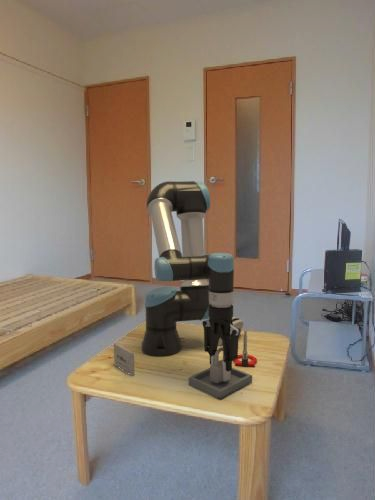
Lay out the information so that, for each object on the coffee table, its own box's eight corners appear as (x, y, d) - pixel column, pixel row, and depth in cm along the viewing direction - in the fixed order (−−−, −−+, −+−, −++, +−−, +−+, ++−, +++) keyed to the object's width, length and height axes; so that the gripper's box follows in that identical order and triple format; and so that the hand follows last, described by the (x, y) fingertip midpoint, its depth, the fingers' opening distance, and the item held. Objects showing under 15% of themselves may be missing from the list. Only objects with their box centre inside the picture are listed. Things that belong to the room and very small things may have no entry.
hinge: (230, 331, 171) (237, 311, 168) (239, 337, 169) (246, 317, 165) (208, 343, 158) (215, 321, 154) (218, 349, 155) (225, 328, 152)
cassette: (113, 364, 138) (112, 343, 137) (117, 363, 139) (117, 342, 138) (131, 376, 129) (130, 354, 128) (135, 375, 130) (135, 352, 129)
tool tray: (188, 384, 123) (188, 377, 122) (220, 370, 133) (220, 363, 133) (220, 399, 114) (220, 391, 113) (252, 382, 124) (252, 375, 124)
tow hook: (233, 356, 145) (232, 366, 136) (234, 322, 144) (233, 329, 135) (256, 358, 144) (257, 367, 135) (257, 323, 143) (258, 330, 134)
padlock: (222, 372, 127) (222, 342, 126) (232, 376, 125) (232, 346, 123) (208, 380, 122) (208, 349, 121) (218, 384, 119) (218, 352, 118)
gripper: (192, 301, 123) (192, 372, 127) (235, 312, 111) (234, 391, 114) (208, 297, 129) (208, 365, 132) (251, 307, 117) (250, 382, 120)
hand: (220, 377), depth 123 cm, fingers closed on padlock, 4 cm apart
